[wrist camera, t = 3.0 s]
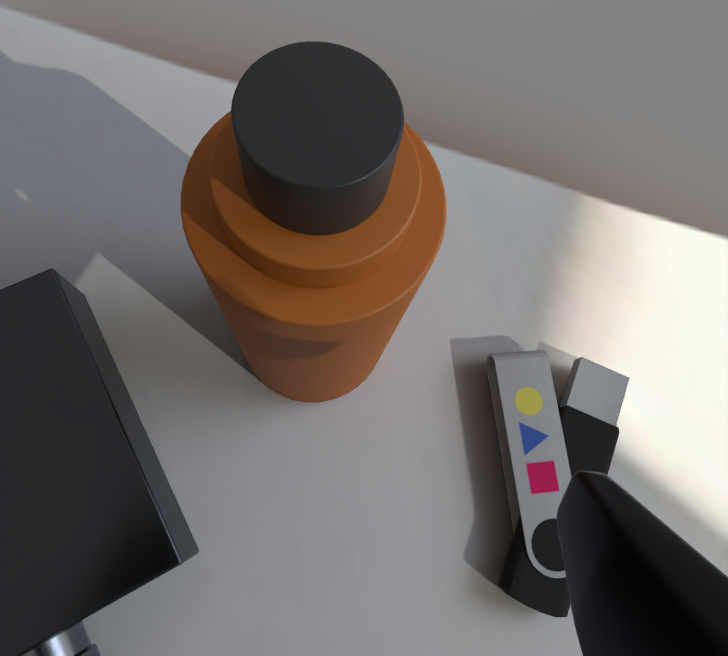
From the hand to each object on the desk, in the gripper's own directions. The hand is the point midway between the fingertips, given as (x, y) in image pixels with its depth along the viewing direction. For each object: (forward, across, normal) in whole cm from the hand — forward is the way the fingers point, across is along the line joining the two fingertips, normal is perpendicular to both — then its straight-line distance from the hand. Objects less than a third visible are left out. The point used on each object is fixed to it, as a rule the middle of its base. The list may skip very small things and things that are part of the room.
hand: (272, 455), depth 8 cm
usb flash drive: (+9, -8, +7) cm, 14 cm away
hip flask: (+7, +9, +9) cm, 15 cm away
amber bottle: (+12, 0, +4) cm, 12 cm away
